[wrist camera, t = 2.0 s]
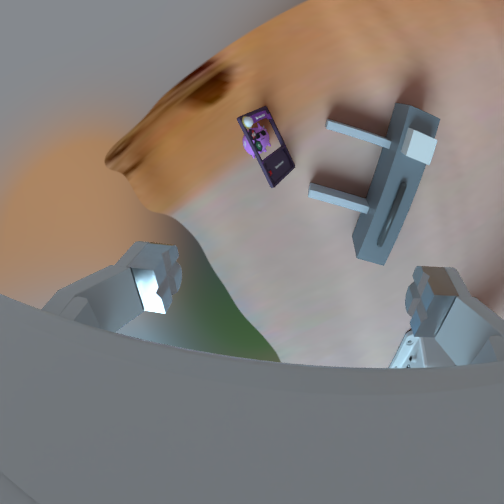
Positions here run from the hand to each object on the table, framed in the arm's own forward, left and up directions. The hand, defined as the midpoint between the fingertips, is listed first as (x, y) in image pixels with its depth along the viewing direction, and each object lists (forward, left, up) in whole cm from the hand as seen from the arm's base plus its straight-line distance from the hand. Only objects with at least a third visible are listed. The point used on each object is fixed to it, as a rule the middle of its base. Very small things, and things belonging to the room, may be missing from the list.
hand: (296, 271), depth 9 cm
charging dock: (-2, -8, -30) cm, 31 cm away
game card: (-2, +5, -30) cm, 31 cm away
